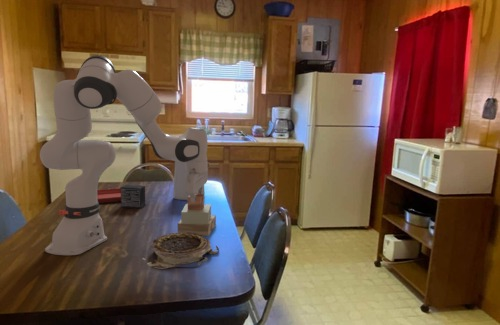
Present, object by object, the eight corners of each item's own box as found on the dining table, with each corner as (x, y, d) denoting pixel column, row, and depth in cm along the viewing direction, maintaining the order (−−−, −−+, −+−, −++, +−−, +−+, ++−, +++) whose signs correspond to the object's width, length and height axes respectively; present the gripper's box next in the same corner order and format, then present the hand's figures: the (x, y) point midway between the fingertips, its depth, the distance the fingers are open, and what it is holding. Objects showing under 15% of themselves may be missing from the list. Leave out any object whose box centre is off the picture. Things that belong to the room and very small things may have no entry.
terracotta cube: (200, 210, 151) (200, 197, 150) (187, 209, 151) (187, 196, 150) (204, 206, 156) (204, 194, 155) (191, 205, 157) (191, 193, 156)
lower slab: (208, 237, 149) (208, 225, 148) (177, 234, 150) (177, 223, 149) (215, 226, 161) (215, 215, 160) (187, 223, 163) (187, 213, 162)
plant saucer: (92, 195, 201) (92, 189, 200) (126, 193, 208) (126, 187, 207) (92, 205, 184) (92, 199, 184) (129, 202, 191) (129, 196, 191)
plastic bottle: (182, 192, 211) (182, 144, 206) (206, 194, 207) (207, 146, 202) (170, 199, 197) (169, 148, 191) (196, 202, 193) (196, 150, 187)
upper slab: (208, 224, 149) (208, 212, 148) (181, 223, 149) (181, 212, 148) (210, 215, 160) (211, 204, 159) (186, 214, 160) (185, 203, 159)
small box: (146, 204, 186) (145, 185, 184) (141, 208, 180) (140, 188, 178) (126, 203, 187) (125, 184, 185) (120, 207, 181) (119, 187, 179)
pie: (132, 270, 120) (131, 256, 119) (151, 238, 147) (150, 226, 146) (217, 270, 121) (217, 256, 120) (220, 239, 148) (220, 227, 147)
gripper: (196, 172, 140) (196, 206, 142) (210, 162, 160) (210, 192, 162) (180, 171, 141) (181, 205, 143) (196, 161, 161) (196, 191, 163)
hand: (196, 198), depth 153 cm, fingers open, 8 cm apart
